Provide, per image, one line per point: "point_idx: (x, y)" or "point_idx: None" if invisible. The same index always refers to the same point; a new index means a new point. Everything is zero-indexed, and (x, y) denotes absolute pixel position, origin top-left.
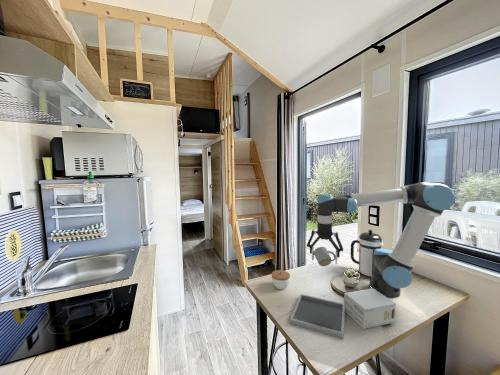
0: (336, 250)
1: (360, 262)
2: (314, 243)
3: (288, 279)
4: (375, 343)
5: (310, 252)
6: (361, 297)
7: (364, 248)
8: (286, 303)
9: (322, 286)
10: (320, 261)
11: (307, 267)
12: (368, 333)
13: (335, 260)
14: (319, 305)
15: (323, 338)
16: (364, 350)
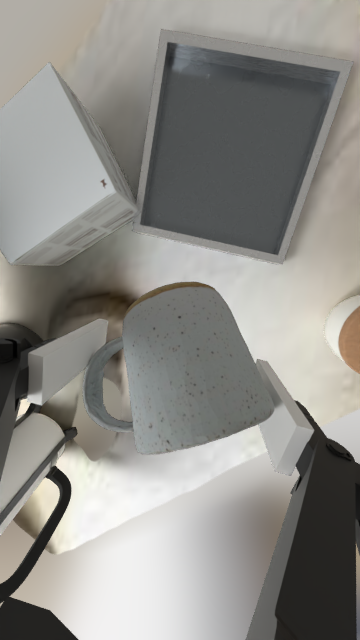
0: (35, 399)
1: (39, 463)
2: (322, 508)
3: (345, 316)
4: (76, 60)
5: (300, 407)
6: (52, 164)
7: None
8: (338, 212)
9: None
10: (215, 290)
11: (227, 461)
12: (88, 107)
13: (96, 328)
14: (217, 221)
15: (228, 26)
16: (111, 8)
